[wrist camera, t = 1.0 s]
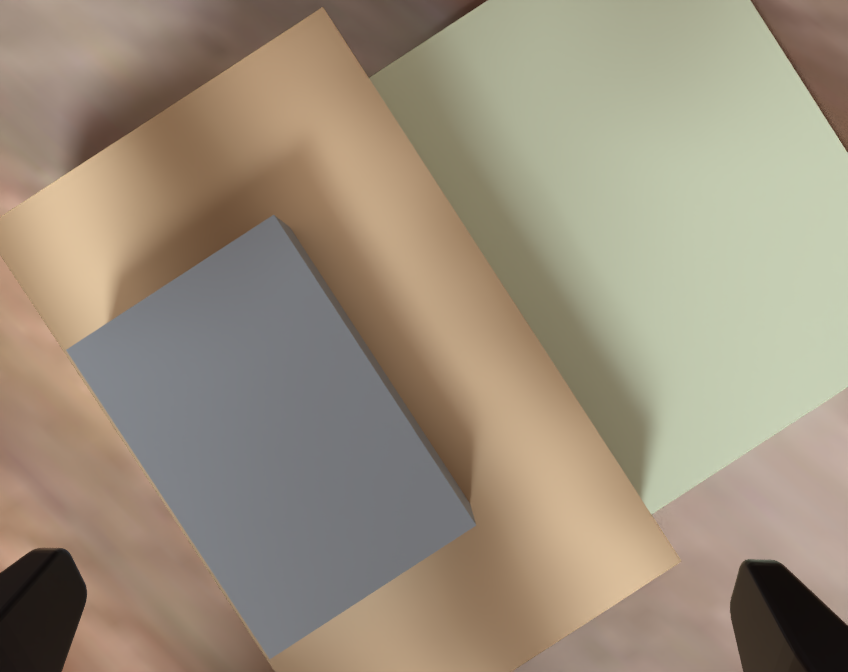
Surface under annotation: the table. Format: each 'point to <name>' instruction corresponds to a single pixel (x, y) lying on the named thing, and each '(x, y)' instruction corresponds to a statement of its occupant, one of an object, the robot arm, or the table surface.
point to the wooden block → (381, 331)
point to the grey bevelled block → (273, 435)
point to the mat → (646, 213)
